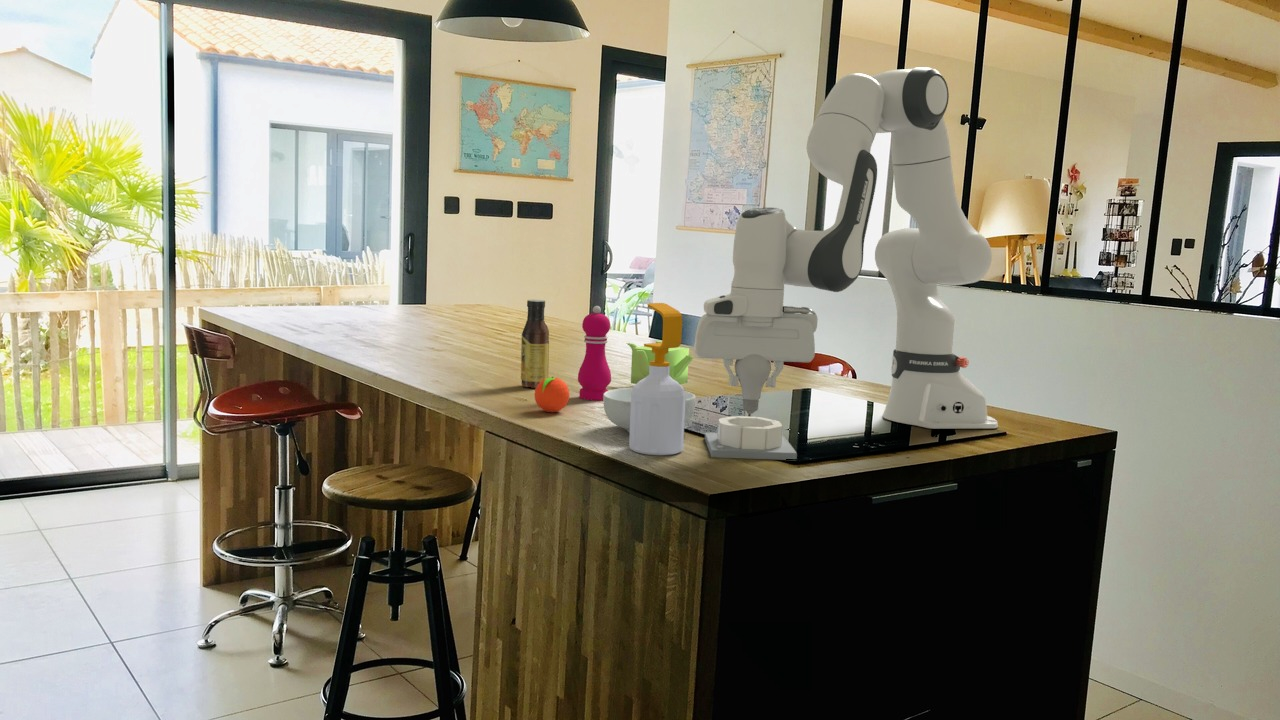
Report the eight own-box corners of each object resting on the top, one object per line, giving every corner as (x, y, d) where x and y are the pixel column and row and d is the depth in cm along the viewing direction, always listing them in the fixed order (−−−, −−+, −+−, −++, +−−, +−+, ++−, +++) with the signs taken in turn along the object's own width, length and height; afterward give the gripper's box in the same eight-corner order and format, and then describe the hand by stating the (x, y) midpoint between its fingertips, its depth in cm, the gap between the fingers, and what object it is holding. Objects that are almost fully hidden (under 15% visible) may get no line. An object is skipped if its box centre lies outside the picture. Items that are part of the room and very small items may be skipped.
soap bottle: (656, 441, 170) (662, 301, 167) (693, 451, 164) (701, 305, 160) (617, 448, 164) (623, 302, 161) (655, 458, 158) (662, 306, 154)
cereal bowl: (648, 419, 191) (650, 383, 190) (712, 434, 179) (714, 396, 178) (583, 429, 179) (584, 391, 178) (647, 445, 167) (648, 405, 166)
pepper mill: (617, 398, 212) (620, 306, 210) (598, 402, 206) (601, 307, 204) (589, 394, 216) (592, 303, 214) (570, 398, 210) (573, 305, 208)
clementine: (558, 417, 188) (559, 381, 188) (525, 414, 191) (526, 378, 190) (574, 410, 196) (575, 375, 195) (542, 407, 198) (543, 372, 197)
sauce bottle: (524, 383, 227) (526, 298, 224) (550, 385, 226) (553, 299, 223) (517, 388, 220) (519, 300, 217) (544, 389, 219) (546, 301, 217)
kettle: (635, 394, 219) (637, 344, 217) (620, 384, 232) (621, 337, 231) (698, 393, 222) (701, 344, 221) (680, 384, 236) (682, 337, 235)
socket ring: (775, 437, 172) (776, 417, 172) (784, 450, 162) (785, 429, 162) (715, 434, 172) (716, 415, 172) (721, 448, 162) (722, 427, 161)
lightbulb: (771, 412, 168) (774, 349, 167) (764, 418, 162) (768, 352, 161) (736, 409, 170) (739, 346, 169) (728, 414, 164) (732, 349, 163)
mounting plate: (782, 441, 174) (783, 433, 174) (796, 460, 160) (797, 451, 160) (704, 439, 174) (705, 430, 174) (711, 457, 160) (711, 448, 160)
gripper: (814, 306, 167) (809, 385, 169) (695, 301, 167) (691, 381, 169) (821, 309, 161) (816, 391, 163) (698, 303, 161) (694, 386, 162)
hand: (751, 386), depth 166 cm, fingers closed on lightbulb, 5 cm apart
